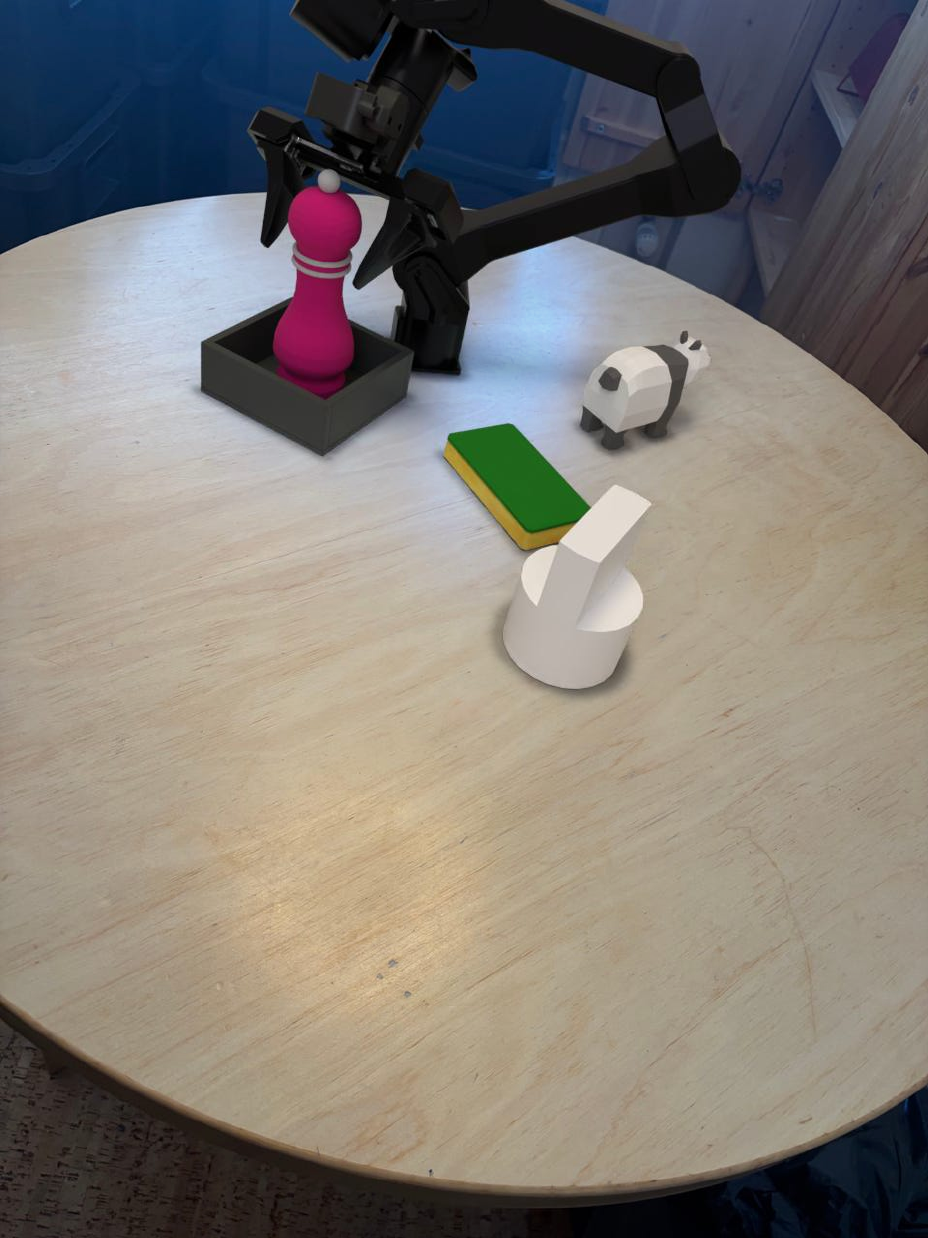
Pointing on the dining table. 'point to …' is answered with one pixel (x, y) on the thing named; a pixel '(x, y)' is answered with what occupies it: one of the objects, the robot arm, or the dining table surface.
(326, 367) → the pepper mill
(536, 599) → the base with upright slab
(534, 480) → the dish sponge
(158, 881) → the dining table surface
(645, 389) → the giant panda
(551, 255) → the dining table surface
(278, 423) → the open rectangular box
